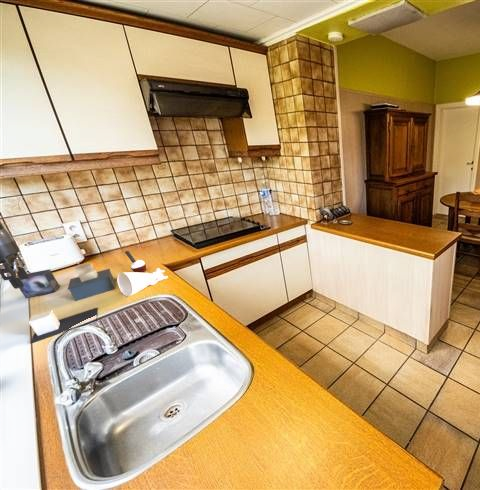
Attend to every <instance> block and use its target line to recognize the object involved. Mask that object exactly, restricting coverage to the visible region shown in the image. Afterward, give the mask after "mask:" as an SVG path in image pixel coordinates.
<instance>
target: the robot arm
mask: <svg viewBox="0 0 480 490" xmlns="http://www.w3.org/2000/svg"><path fill="white" fill-rule="evenodd" d="M20 251H21V250H20V248H19V246H18V245H17V243H16V241H15V240H14V238H13V236H12V235H11V234H10V232H9V231H8V230H7V229H6V228H5V226H4V224H3V222H2V221H0V276H1V278H2V280H3V281H9V283H10V284H11V286H12V287H13V289H15V290H16V289H19V288H21V287H23V286H24V284H23V283H22V281H21V280H24V279H28V278H29V275H28V272H27V271H26V267H25V266H26V264H25V262H24V260H22V258H21V256H20V255H19V253H20Z"/></svg>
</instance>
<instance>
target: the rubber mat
mask: <svg viewBox="0 0 480 490" xmlns="http://www.w3.org/2000/svg"><path fill="white" fill-rule="evenodd" d="M98 310H99V308H98V307H94V308H90V309H88V310H85V311H82V312H78V313H76V314H72V315H69V316H65V317H64V318H60V319H58V321H59V322H60V325H59V328H58V329H57V330H54V331H51V332H48V333H45V334H42V335H39V336H37V334H36V333H35V332H33V335H32V338H31V341H30V344H34V343H37V342H39V341H42V340H45V339H48V338H51V337H53V336H57V335H59V334H62V333H64V332H63V331H65V330H68V329H69V328H71V327H72V326H74V325H76V324H78V323H80V322H82V321H84V320H86V319H88V318H91V317H93V316H95V315H97V316H98ZM68 331H69V330H68ZM61 332H62V333H61ZM65 332H66V331H65Z"/></svg>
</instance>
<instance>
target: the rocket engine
mask: <svg viewBox="0 0 480 490" xmlns="http://www.w3.org/2000/svg"><path fill="white" fill-rule="evenodd" d="M164 273H165V270H164V269H162V270H161V269H160V268H156V270H155V271H152V272H151V273H150V272H141V273H140V272H134V271H132V272H131V271H129V272H128V271H125V272H119V273H118V275H117V277H116V278H117V279H116V280H117V286H118V288H119V290H120V292H121V293H122V294H123V296H125V297H131V296H133V295H135V294H137V293H139V292H140V291H142V290H144V289H145V288H147V287H148V286H153V285H156V284H157V283H158V282H160V281H163V280H166V279H168V278H169V276H168V275H164Z"/></svg>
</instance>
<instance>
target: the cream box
mask: <svg viewBox="0 0 480 490" xmlns="http://www.w3.org/2000/svg"><path fill="white" fill-rule="evenodd" d="M74 271H75V273H76V274H77V277H79V278H80V280H81V281H82V282H83V281H87V280H90V279H94V278H97V276H98V274H97V272H98V271H97V269H96V268H95V266H94V264H93V262H89V263H88V262H87V263H84V264H80V265H76V266H75V268H74Z"/></svg>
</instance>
